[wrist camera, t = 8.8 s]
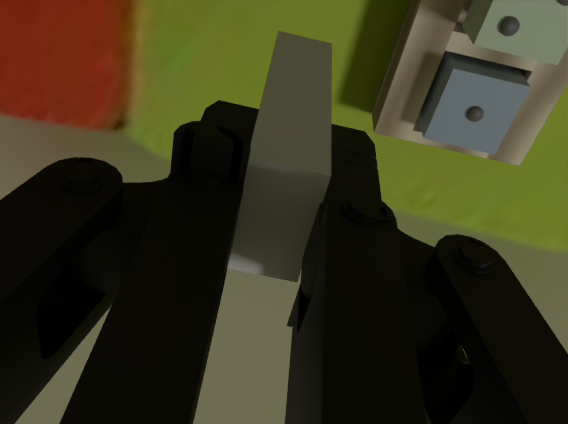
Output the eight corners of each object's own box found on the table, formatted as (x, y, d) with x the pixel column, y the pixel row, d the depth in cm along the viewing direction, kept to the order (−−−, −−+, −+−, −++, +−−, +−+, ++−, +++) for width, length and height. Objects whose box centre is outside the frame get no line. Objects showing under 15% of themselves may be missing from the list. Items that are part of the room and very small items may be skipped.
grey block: (417, 115, 45) (423, 139, 42) (444, 49, 42) (454, 69, 38) (483, 130, 46) (495, 155, 42) (516, 66, 42) (531, 88, 39)
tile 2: (462, 25, 39) (474, 46, 35) (499, -63, 35) (516, -50, 32) (539, 44, 39) (558, 66, 36) (583, -42, 35) (609, -26, 32)
